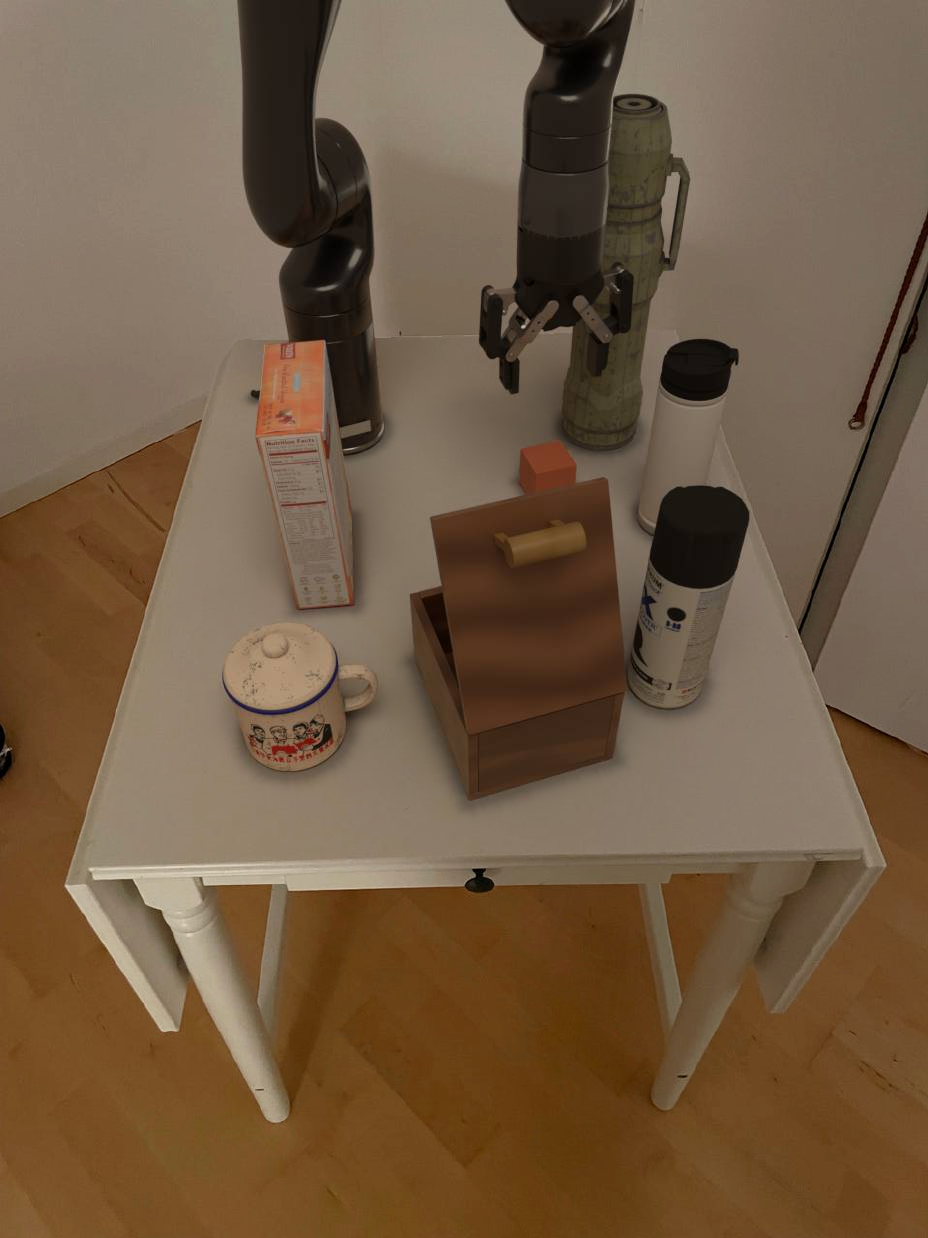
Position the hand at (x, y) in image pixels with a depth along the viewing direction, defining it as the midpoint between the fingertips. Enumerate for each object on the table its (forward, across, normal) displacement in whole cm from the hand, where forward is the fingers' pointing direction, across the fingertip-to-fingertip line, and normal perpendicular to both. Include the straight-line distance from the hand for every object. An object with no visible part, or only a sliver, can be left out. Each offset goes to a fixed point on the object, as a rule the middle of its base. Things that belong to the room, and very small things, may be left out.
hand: (552, 381), depth 89 cm
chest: (+14, +14, +26) cm, 32 cm away
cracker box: (+14, +25, +2) cm, 29 cm away
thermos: (+14, -10, -10) cm, 20 cm away
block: (+14, 0, -1) cm, 14 cm away
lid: (-2, +13, +30) cm, 33 cm away
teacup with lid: (+14, +30, +22) cm, 40 cm away
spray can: (+15, 0, +27) cm, 31 cm away
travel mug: (+15, -11, +8) cm, 20 cm away
